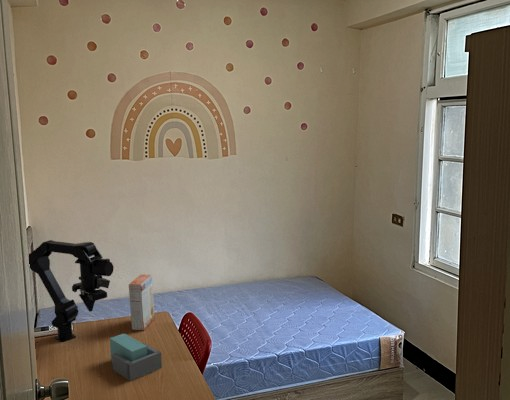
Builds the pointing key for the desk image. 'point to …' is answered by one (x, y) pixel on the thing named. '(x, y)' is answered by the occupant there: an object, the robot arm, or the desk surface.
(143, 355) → the teal block
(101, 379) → the desk surface
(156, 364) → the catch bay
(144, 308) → the cracker box
